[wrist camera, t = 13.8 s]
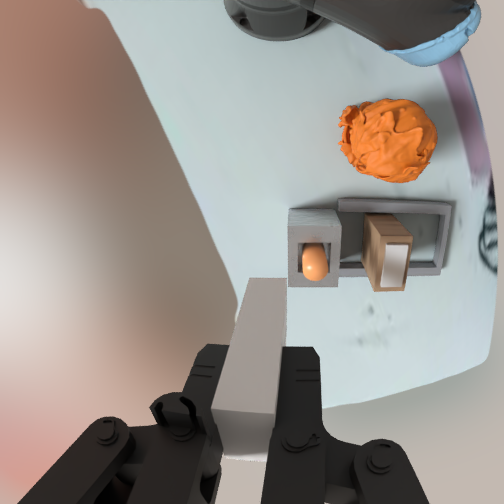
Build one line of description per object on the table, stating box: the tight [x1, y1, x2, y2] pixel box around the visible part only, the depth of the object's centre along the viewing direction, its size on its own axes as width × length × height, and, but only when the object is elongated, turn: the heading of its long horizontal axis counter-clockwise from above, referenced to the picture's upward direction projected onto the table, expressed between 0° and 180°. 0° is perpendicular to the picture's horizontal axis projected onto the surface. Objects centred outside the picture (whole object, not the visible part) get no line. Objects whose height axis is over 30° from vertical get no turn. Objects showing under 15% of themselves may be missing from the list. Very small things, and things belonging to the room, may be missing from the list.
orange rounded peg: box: [302, 243, 328, 281], centre depth 40 cm, size 3×3×6 cm
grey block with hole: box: [288, 209, 342, 287], centre depth 44 cm, size 9×7×8 cm
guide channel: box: [338, 199, 452, 277], centre depth 44 cm, size 12×19×2 cm, turn 93°
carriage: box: [361, 213, 413, 292], centre depth 41 cm, size 8×4×11 cm, turn 3°
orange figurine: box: [338, 99, 437, 183], centre depth 32 cm, size 11×11×18 cm
